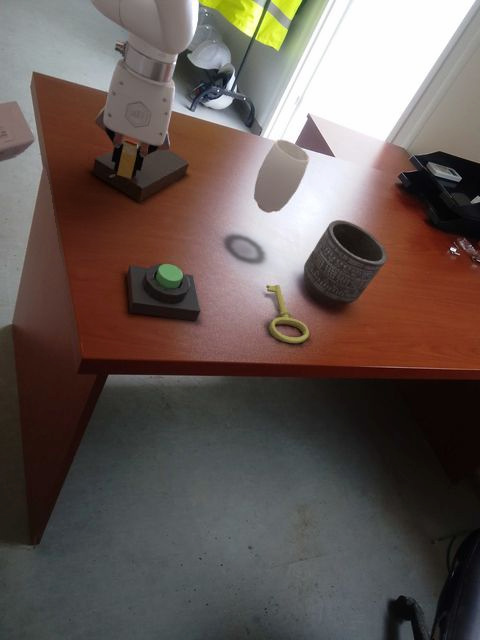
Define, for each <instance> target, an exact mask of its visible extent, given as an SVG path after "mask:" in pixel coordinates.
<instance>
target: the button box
mask: <svg viewBox="0 0 480 640" xmlns="http://www.w3.org/2000/svg"><path fill="white" fill-rule="evenodd" d="M161 265H163V263H156V264H153V265H150V266H149V267H145V266H140V265H134V264H129V266H128V270H127V273H126V281H127V295H128V309H129V313H130V314H137V315H145V316H153V317H162V318H170V319H177V320H186V321H193V322H196V321H197V320H198V318H199V316H200V313H201V307H200V302H199V297H198V293H197V288H196V283H195V277H194V275H192V274H188V273H184V272H183V271H182V270H181V272H182V274H183V277H182V280H181V282H180V285H179V287H178V288H176V289H168V288H165V287H163V286H161V285H159V284H158V283H157V281H156V274H157V272H158V269H159V267H160V266H161Z"/></svg>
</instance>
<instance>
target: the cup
mask: <svg viewBox="0 0 480 640" xmlns="http://www.w3.org/2000/svg"><path fill="white" fill-rule="evenodd" d="M309 162H310V157H309V154H308V153H307V151H305V150H304V149H303V148H302V147H301V146H299V145H297V144H295V143H294V142H292V141H289V140H286V139H277V140H276V141H275V142H274V143H273V145H272V146H271V148H270V149H269V150H268V152H267V154H266V156H265V158H264V159H263V162H262V164H261V166H260V168H259V170H258V172H257V177H256V180H255V184H254V190H253V191H254V192H253V199H254V200H255V202H256V204H257V207H258V209H259V210H261V211H263V213H267V214H269V213H273V212H275V213H276V212H280V211H281V210H282V209H283V208H284V207H285V206H286V205H287V204H288V203H289V201H290V200H291V199H292V197H293V196H294V194H296V192H297V191H298V189H299V187H300V184H301V183H302V180H303V178H304V176H305V174H306V171H307V167H308V165H309Z"/></svg>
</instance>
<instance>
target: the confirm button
mask: <svg viewBox="0 0 480 640" xmlns="http://www.w3.org/2000/svg"><path fill="white" fill-rule="evenodd" d="M162 264H163V263H162ZM181 271H182V270H181V269H180V268H179V267H178V266H175V265H173V264H169V263H164V264H163V265H161V266H160V267H159V269H158V272H157V274H156V281H157V283H158V284H159V285H161V286H163V287H165V288H168V289H176V288H178V287H179V285H180V282H181V280H182V277H183V274H182V272H183V271H182V272H181Z"/></svg>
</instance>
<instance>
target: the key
mask: <svg viewBox="0 0 480 640" xmlns="http://www.w3.org/2000/svg"><path fill="white" fill-rule="evenodd" d="M265 288H266V291H267V292H268V293H274V295H275V298H276V303H277V306H278V309H279V314H278V315H279V316H278V317H276V318H274V319H272V321H270V323H269V325H268V332H269V334H270V335H271V336H272V337H273V338H275V339H277V340H278V341H281V342H283V343H288V344H300V343H303V342H305V341H307V340H308V337H309V335H310V331H309V328H308V326H307V325H306V324H305V323H304V322H303V321H300V320H299V319H296V318H293V317H291V312H290V311H289V310H288V309H287V306H286V302H285V299H284V296H283V293H282V289H281V285H280V284H275V285H269V284H267V285H266V286H265ZM276 325H287V326H292V327H294V328H297V329H298V330H300V331H301V333H302V335H301V336H297V337H294V336H288V335H285V334H283V333H281V332H280V331H279V330H277V327H276Z"/></svg>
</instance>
